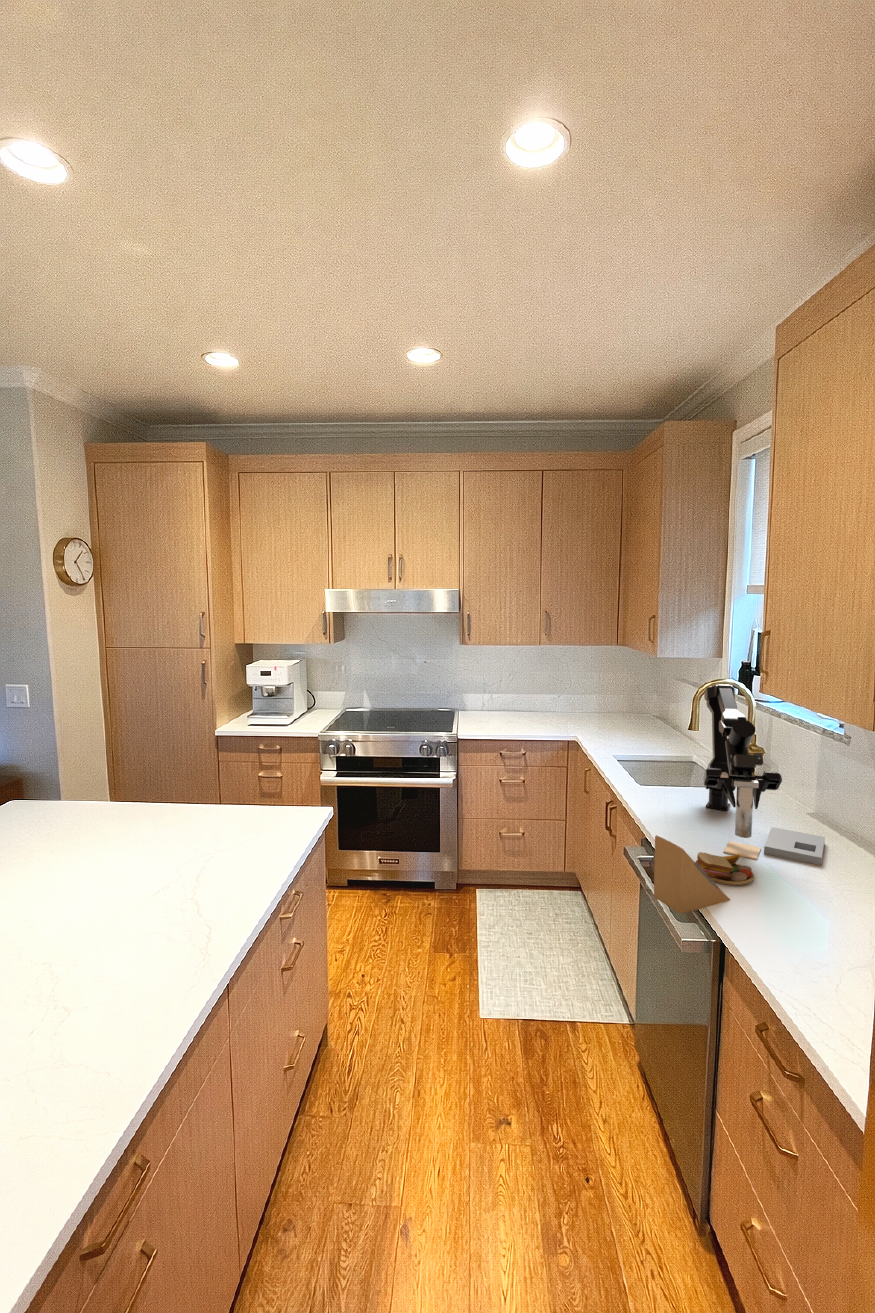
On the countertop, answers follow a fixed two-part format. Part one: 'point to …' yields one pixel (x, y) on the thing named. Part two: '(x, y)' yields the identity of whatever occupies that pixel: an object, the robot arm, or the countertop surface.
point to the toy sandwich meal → (725, 869)
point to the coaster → (742, 850)
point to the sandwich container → (682, 880)
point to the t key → (744, 806)
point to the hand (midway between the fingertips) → (745, 807)
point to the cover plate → (795, 845)
